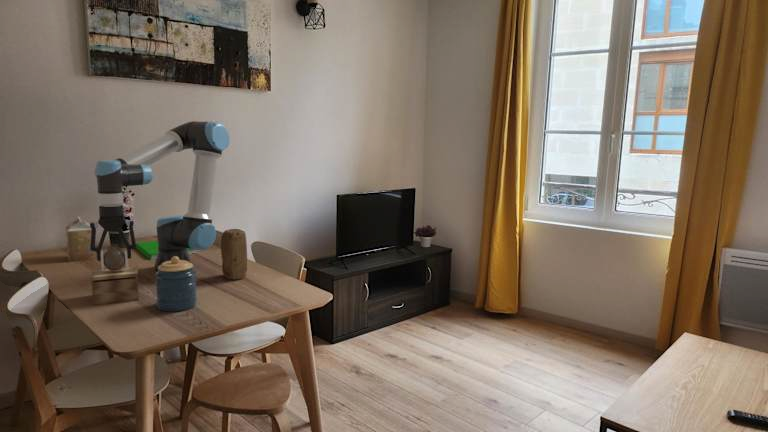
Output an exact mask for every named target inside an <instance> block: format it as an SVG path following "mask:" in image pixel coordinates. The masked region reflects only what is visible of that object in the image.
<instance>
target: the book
mask: <svg viewBox="0 0 768 432" xmlns="http://www.w3.org/2000/svg"><path fill="white" fill-rule="evenodd" d="M135 249H137V250H138V251H139V252H140V253H141V254H142V255H143V256H145V258H147V259H148V260H150V261H151V260H156V258H157V254H158V241H157V240H152V241H143V242H136V248H135ZM187 252H188V254H190V255H193V254H192V253H197V254H198V250H193V249H189V248H187Z"/></svg>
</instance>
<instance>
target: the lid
mask: <svg viewBox="0 0 768 432" xmlns="http://www.w3.org/2000/svg"><path fill="white" fill-rule="evenodd" d="M91 273H92V274H91V276H90V282H92V281H95V280H106V279H117V278H128V277H139V270H138V266H128V268H126V266H123V268H122V269H120V270H114V271H112V270H109V269H107V268H105V269H104V270H103V271H102V268H101V269H93V271H92V272H91Z"/></svg>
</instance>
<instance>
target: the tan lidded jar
mask: <svg viewBox="0 0 768 432" xmlns="http://www.w3.org/2000/svg"><path fill="white" fill-rule="evenodd" d="M91 232H92V229H91V227H90V222H87V221H85V220H82V219H81V217H80V216H77V219H76V220H74V221H73V222H71V223H69V224H67V226H66V227H65V237H66V247H67V258H68V262H69V263H75V262H83V261H84V262H85V261H93V260H94V261H96V260H97V252H96V251H91Z"/></svg>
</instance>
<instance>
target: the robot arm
mask: <svg viewBox="0 0 768 432" xmlns="http://www.w3.org/2000/svg"><path fill="white" fill-rule="evenodd" d="M230 141H231V140H230V133H229V131H228V130H227V128H226V127H225V125H224V124H223V123H220V122H217V121H211V120H210V121H197V120H195V121H194V120H193V121H188V122H185V123H183V124H180V125H178V126H176V127H173V128H172V129H169V130H168V131H166V132H165V134H164V135H163V136H161V137H158V138H157V139H154V140H152V141H151V142H149V143H146V144H145V145H143V146H141V147H139V148H136V149H134V150H132V151H130V152H128V153H127V154H124V155H122V156H120V157H117V158H115V159H112V160H111V159H106V160H105V159H102V160H101V159H100V160H98V161H97V162H96V164H95V165H96V166H95V168H94V176H95V178H96V183H97V199H98V205H99V206H98V213H99V219H98V220H97V221H91V222H89V224H90V227H91V229H92V232H91V251H96V260H97V261H98V262H100V264H101V269H102V271H103V270H104V269H106V267H105V265H104V255H105V252H104V250H102V248H103V244H104V242H105V239H106V237H107V233H108V232H118V234H119V236H120V239H121V240H122V242H123V244H124V246H125V249H124V254H125V267H126V268H128V267H129V259H132V250H133V249H136V243H137V242H136V237H135V232H134V224H135V223H134V219H131V220H129V219H126V218H125V214H124V213H125V212H124V205H123V204H124V198H123V196H124V195H123V194H124V193H123V188H124V187H134V186H135V187H136V186H144V185H149V184H150V183H151V182H152V181H153V177H154V174H153V173H154V172H153V170H152V167H150V165H152V164H154V163H156V162H158V161H160V160H162V159H163V158H165V157H167V156H169V155H171V154H173V153H180V152H182V151H185V150H189V149H190V150H192V152H193V155H195V160H194V166H193V173H192V179H191V180H192V181H191V187H190V194H189V200H188V201H189V202H188V207H187V212H185V214H184V215H182V214H181V215H173V216H172V215H171V216H164V217H160V218H158V219H157V221H156V238H157V240H156V241H158V254H157V258H156V259H155V261H154V264H153V265H154V271H155V273H157V272H158V271H159V270H158V266H160V265H161V264H162V263H164V262H166V261H171V259H172V257H174V256H177V257H178V258H179V260H186V261H188V262H189V263H192V259H191V257H190V255H189V254H188V252H187V248H189V249H193V250H197V251H205V250H207V249H209V248H210V247H211V246H212V245H213V244H214V243H215V240H216V238H217V229H216V226H215V225H213V217H212V216H211V215H210V213H211V206H212V205H211V204H212V197H213V191H214V182H215V176H216V169H217V164H218V163H217V162H218V159H219V158H221V157H222V154H223V153H222V152H223V151H225V150H226V149H227V147H229V145H230ZM125 224H126V226H127V227H128V230H129V236H130V241H131V242H130V243H131V244H130V243H129V241H128V238H127V237H126V234H125V232H124V231H123V227H124V225H125ZM99 225H100V226H101V228H103V230H102V233H101V236H100V239H99V242H98V245H97V246H96V239H97V238H96V237H97V236H96V235H97V234H96V233H97V229H98V226H99ZM192 264H193V263H192Z"/></svg>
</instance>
